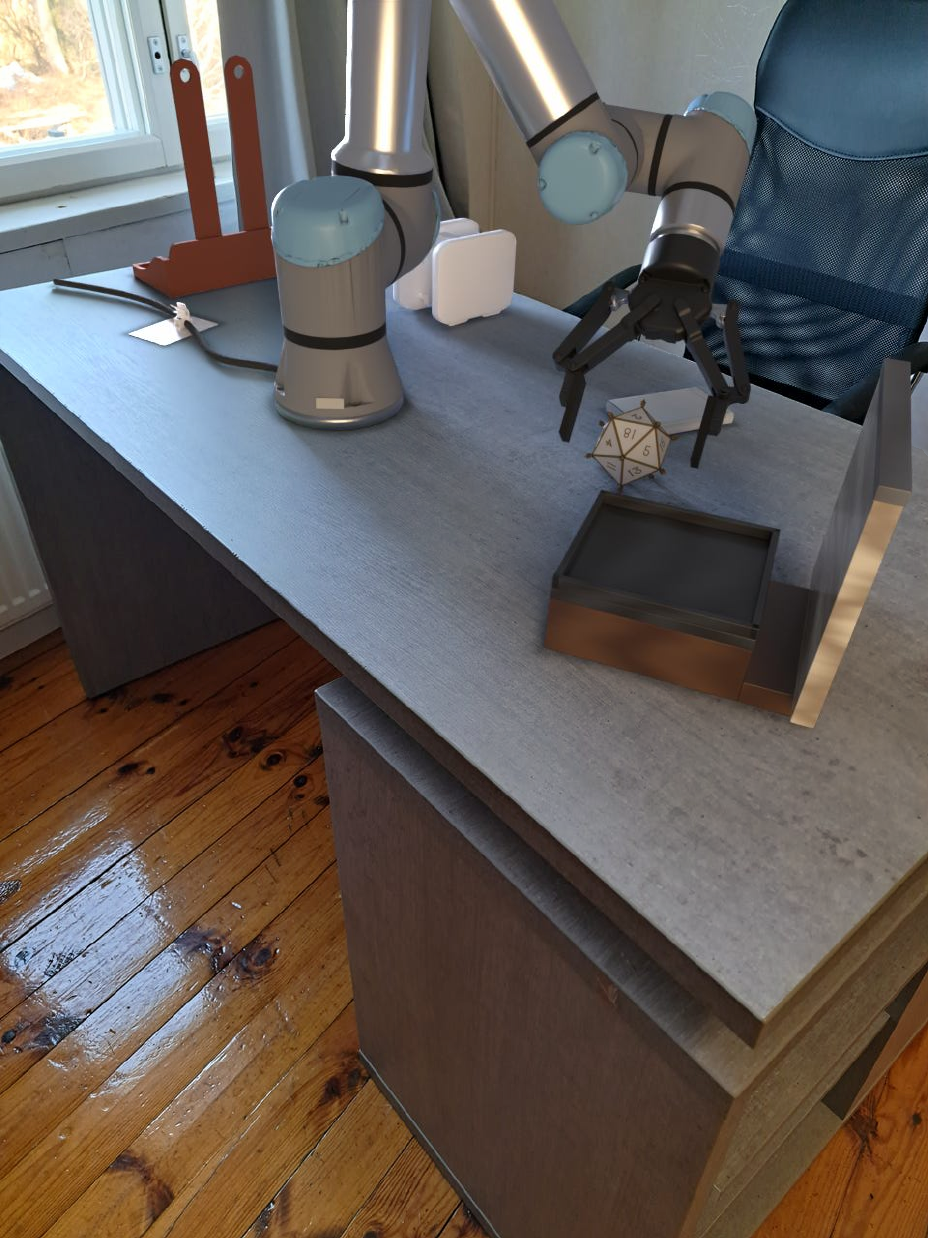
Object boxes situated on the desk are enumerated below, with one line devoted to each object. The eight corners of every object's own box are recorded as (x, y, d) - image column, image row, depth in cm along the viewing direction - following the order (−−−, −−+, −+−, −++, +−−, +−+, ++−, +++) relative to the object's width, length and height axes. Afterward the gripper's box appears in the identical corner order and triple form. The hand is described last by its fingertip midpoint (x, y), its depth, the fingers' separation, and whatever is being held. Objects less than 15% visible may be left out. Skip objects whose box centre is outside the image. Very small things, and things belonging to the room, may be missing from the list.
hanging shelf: (267, 250, 149) (245, 43, 131) (308, 269, 142) (290, 53, 123) (134, 275, 137) (88, 51, 118) (170, 297, 129) (127, 61, 110)
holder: (531, 671, 66) (557, 420, 53) (600, 538, 81) (634, 316, 68) (806, 751, 61) (912, 492, 47) (826, 592, 75) (910, 361, 62)
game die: (606, 516, 91) (557, 451, 86) (628, 458, 95) (583, 392, 89) (682, 503, 85) (635, 432, 79) (702, 442, 89) (659, 370, 83)
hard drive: (643, 428, 96) (735, 411, 100) (606, 398, 102) (694, 383, 106) (641, 441, 97) (732, 424, 101) (605, 411, 103) (692, 396, 107)
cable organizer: (434, 332, 121) (434, 246, 114) (390, 311, 128) (388, 227, 120) (513, 311, 129) (518, 229, 122) (469, 292, 135) (471, 213, 128)
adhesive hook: (195, 326, 120) (192, 303, 118) (182, 331, 119) (177, 309, 117) (180, 321, 122) (176, 299, 120) (166, 327, 120) (162, 304, 118)
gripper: (805, 288, 87) (751, 487, 85) (572, 255, 94) (517, 439, 92) (816, 246, 80) (757, 463, 78) (562, 214, 87) (503, 412, 85)
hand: (627, 450), depth 85 cm, fingers open, 12 cm apart
